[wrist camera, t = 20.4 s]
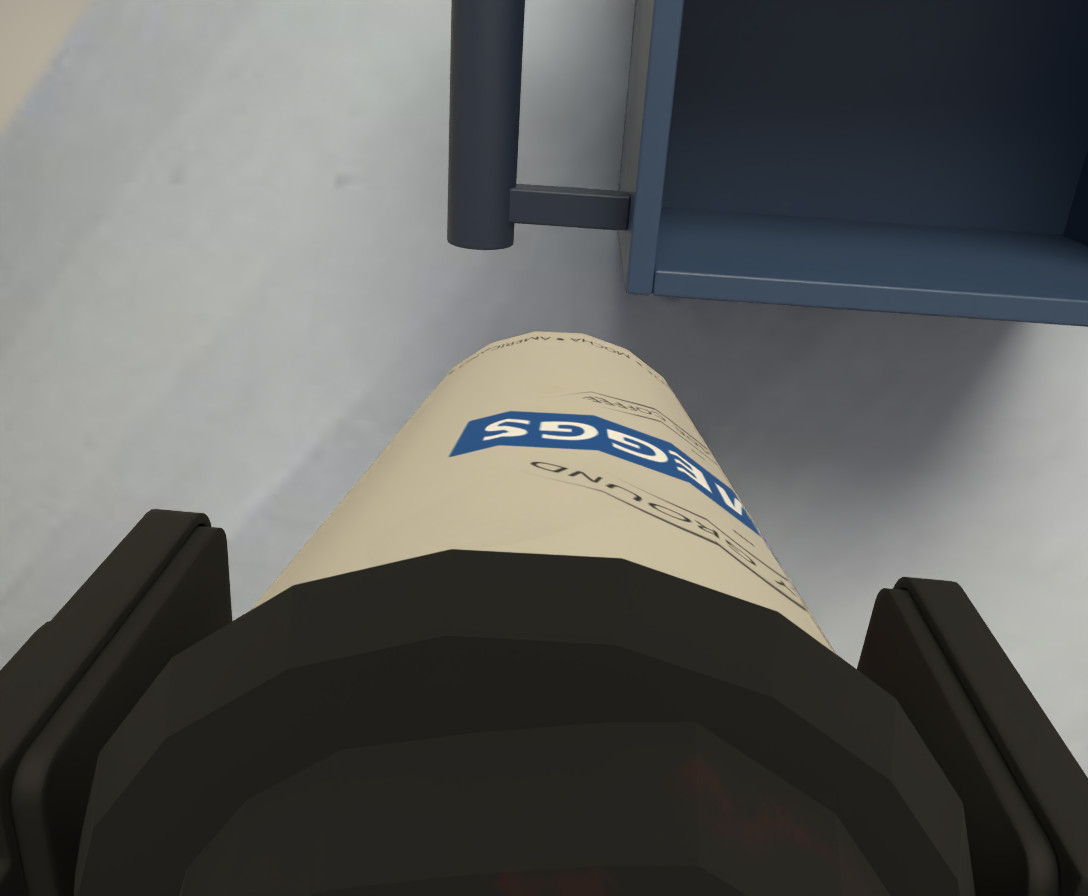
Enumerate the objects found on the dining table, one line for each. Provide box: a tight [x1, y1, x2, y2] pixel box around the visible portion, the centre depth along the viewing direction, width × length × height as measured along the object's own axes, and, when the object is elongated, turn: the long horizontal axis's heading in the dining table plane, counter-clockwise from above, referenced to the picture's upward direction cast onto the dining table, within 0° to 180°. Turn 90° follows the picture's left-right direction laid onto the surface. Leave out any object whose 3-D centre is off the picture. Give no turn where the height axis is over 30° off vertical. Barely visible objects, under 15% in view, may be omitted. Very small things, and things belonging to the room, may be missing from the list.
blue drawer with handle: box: [447, 0, 1088, 327], centre depth 23 cm, size 18×11×9 cm, turn 87°
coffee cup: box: [74, 331, 976, 896], centre depth 11 cm, size 7×7×10 cm
